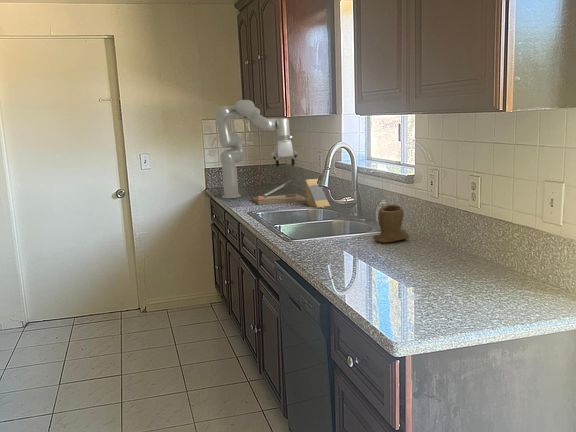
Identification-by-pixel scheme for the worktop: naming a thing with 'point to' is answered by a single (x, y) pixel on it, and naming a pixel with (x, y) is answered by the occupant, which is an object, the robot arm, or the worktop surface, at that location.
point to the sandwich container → (315, 194)
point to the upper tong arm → (278, 188)
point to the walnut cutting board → (278, 199)
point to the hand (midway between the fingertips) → (285, 166)
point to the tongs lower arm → (280, 196)
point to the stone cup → (391, 224)
